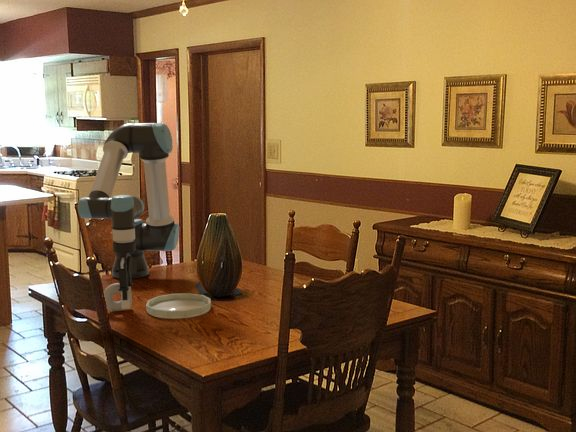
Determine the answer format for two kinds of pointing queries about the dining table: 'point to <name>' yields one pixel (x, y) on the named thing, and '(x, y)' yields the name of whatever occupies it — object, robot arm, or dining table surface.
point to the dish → (178, 306)
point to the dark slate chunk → (203, 292)
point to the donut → (109, 294)
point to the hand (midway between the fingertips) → (126, 306)
